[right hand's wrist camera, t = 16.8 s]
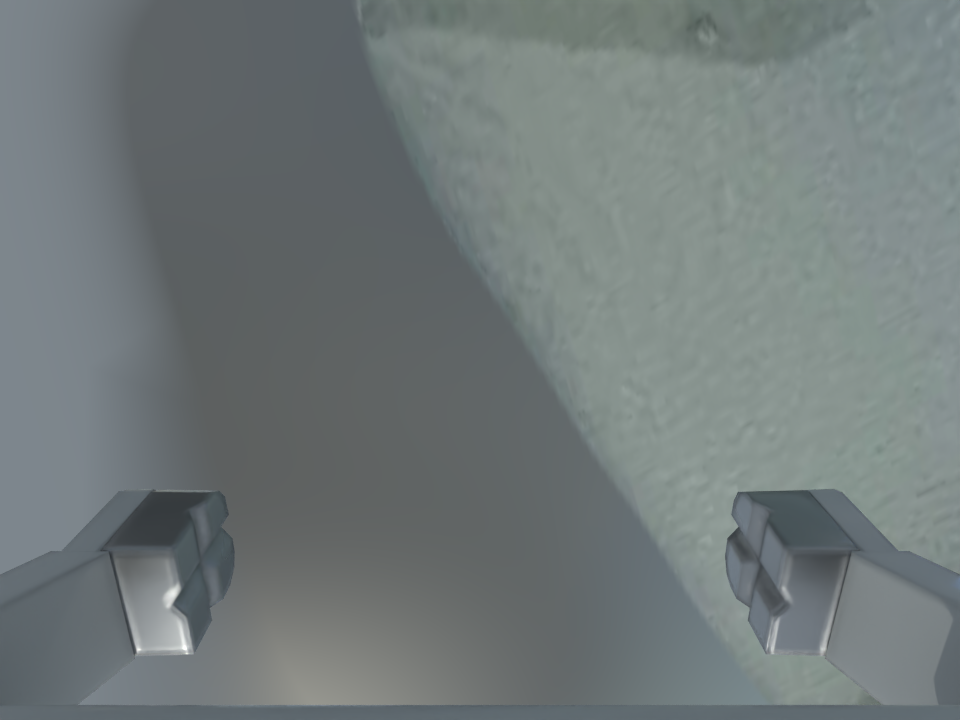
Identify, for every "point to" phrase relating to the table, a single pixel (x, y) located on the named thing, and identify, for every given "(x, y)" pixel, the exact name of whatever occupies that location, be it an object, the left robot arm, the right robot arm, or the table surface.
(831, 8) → the table surface
